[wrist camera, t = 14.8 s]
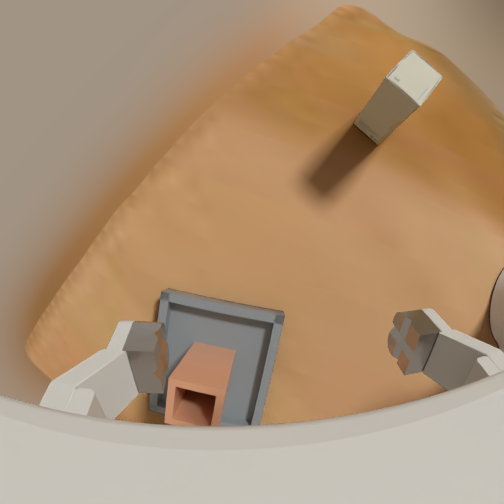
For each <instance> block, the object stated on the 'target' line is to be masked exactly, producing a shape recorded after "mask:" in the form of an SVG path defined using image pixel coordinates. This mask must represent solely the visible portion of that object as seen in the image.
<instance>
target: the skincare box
mask: <svg viewBox="0 0 504 504" xmlns="http://www.w3.org/2000/svg"><path fill="white" fill-rule="evenodd" d="M441 79H442V76H441V74H439V73H438V72H437V71H436V70H435V69H434V68H433V67H432V66H431V65H430V64H429V63H428V62H427V61H425V60H424V59H423V58H422V57H421V56H420V55H418V54H417V53H416V52H415V51H413V50H411V51H410V52H409V53H408V54H407V55H406V56H405V57H404V58H403V59H402V60H401V61H400V62H399V63H398V64H397V65H396V66H395V67H394V68H393V69H392V71H391V72H390V73H389V74H388V75H387V76H386V77H385V79H384V80H383V82H382V83H381V85H380V86H379V88H378V89H377V90H376V92H375V93H374V95H373V96H372V98H371V99H370V101H369V102H368V104H367V105H366V106H365V108H364V109H363V111H362V112H361V114H360V115H359V117H358V118H357V119H356V121H355V122H354V124H355V125H356V126H357V127H358V128H359V129H360V130H361V131H363V132H364V133H365V134H366V135H367V136H368V137H369V138H370V139H372V140H373V141H374V142H375V143H376V144H377V145H379V144H380V143H382V142H383V141H384V140H385V139H386V138H387V137H388V136H389V135H390V134H391V133H392V132H393V131H394V130H395V129H396V128H397V127H398V126H399V125H400V124H401V123H402V122H403V121H404V120H405V119H407V118H408V117H409V116H410V115H411V114H412V113H413V112H414V111H415V110H416V109H417V108H419V107H420V106H421V105H422V104H423V102H424V101H425V100H426V99H427V98H428V96H429V95H430V94H431V93H432V91H433V90H434V89H435V87H436V86H437V85H438V83H439V82H440V80H441Z"/></svg>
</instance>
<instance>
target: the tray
mask: <svg viewBox="0 0 504 504" xmlns="http://www.w3.org/2000/svg"><path fill="white" fill-rule="evenodd" d="M284 317H285V315H284V312H283V311H278V310H273V309H267V308H262V307H256V306H251V305H246V304H241V303H235V302H230V301H225V300H220V299H215V298H211V297H206V296H201V295H196V294H192V293H187V292H182V291H178V290H173V289H169V288H168V289H165V290H163V291H162V292H161V299H160V306H159V314H158V321H157V322H163V323H164V324H165V329H166V335H165V341H166V342H167V343H168V347H169V367H168V370H167V371H166V372H165V376H166V383H165V388H164V394H162V393H150V403H149V410H151V411H154V412H158V413H161V414H165V410H166V399H167V390H168V380H169V377H170V375H171V374H172V373H173V371H174V370H175V368H176V367H177V366H178V364H179V363H180V361H181V360H182V359H183V357H184V356H185V354H186V353H187V352H188V350H189V349H190V347H191V346H192V345H193V343H194V342H199V343H204V344H208V345H213V346H217V347H222V348H227V349H232V350H236V353H235V359H234V364H233V369H232V374H231V380H230V385H229V389H228V393H227V398H226V402H225V406H224V410H223V414H222V418H221V422H220V426H247V425H260V421H261V417H262V413H263V409H264V405H265V401H266V397H267V392H268V388H269V384H270V380H271V375H272V371H273V367H274V362H275V358H276V354H277V349H278V345H279V340H280V336H281V331H282V326H283V322H284Z"/></svg>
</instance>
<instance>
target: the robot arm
mask: <svg viewBox="0 0 504 504" xmlns="http://www.w3.org/2000/svg"><path fill="white" fill-rule="evenodd" d="M490 323H491V329H492V333H493V336H494V338H495V339H496V341H497V343H498V345H499V349H498V348H496V347H493V346H491V345H489V344H487V343H484V342H482V341H480V340H477V339H475V338H473V337H471V336H468V335H466V334H464V333H462V332H459V331H457V330H452V329H451V328H450V327H449V326H448V325H447V324H446V323H445V322H444V321H443V320H442V319H441V317H440V316H439V315H438V314H437V313H436V312H435V311H434V310H433V309H431V308H425V309H419V310H413V311H406V312H397V313H396V315H395V316H394V319H393V324H394V326H395V327H394V328H393V329H392V330H391V331H390V333H389V336H388V348H389V351H390V353H391V355H392V356H394V357H395V358H397V359H398V361H397V364H398V366H399V367H400V369H401V371H402V372H403V374H404V375H408V374H413V373H418V372H423V373H424V374H425V375H427V376H428V377H430V378H431V379H432V380H434V381H435V382H437V383H438V384H440V385H441V386H442V387H444V388H445V389H447V390H448V391H446V392H443V393H439V394H436V395H433V396H429V397H426V398H422V399H419V400H415V401H411V402H407V403H403V404H399V405H395V406H390V407H386V408H381V409H376V410H371V411H366V412H361V413H356V414H350V415H344V416H338V417H332V418H325V419H317V420H309V421H300V422H291V423H279V424H266V425H247V426H182V425H163V424H150V423H139V422H129V421H120V420H114V419H115V418H116V417H117V416H118V414H119V413H120V412H121V411H122V410H123V409H124V408H125V407H126V406H127V405H128V404H129V403H130V402H131V401H132V400H133V399H134V398H135V397H136V396H137V395H138V394H139V393H162V394H164V388H165V383H166V376H165V372H166V371H167V370H168V367H169V347H168V343H167V342H166V341H165V335H166V329H165V324H164V323H163V322H147V321H127V320H121V321H119V322H118V325H117V327H116V329H115V331H114V333H113V335H112V338H111V340H110V342H109V344H108V346H107V349H106V350H105V349H102V350H100V351H99V352H97V353H95V354H94V355H92V356H91V357H89V358H88V359H86V360H84V361H83V362H81V363H80V364H78V365H77V366H75V367H73V368H72V369H70V370H69V371H67V372H65V373H64V374H62V375H61V376H59V377H58V378H56V379H54V380H53V381H51V383H50V385H49V387H48V389H47V391H46V393H45V394H44V396H43V398H42V400H41V403H40V405H34V404H31V403H27V402H23V401H20V400H16V399H13V398H9V397H6V396H3V395H0V504H504V270H503V271H502V273H501V274H500V276H499V278H498V280H497V283H496V285H495V288H494V292H493V296H492V300H491V308H490Z"/></svg>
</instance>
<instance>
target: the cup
mask: <svg viewBox="0 0 504 504" xmlns="http://www.w3.org/2000/svg"><path fill="white" fill-rule="evenodd" d="M235 353H236V350H232V349H227V348H222V347H217V346H213V345H208V344H204V343H199V342H194V343H193V345H192V346H191V347H190V349H189V350H188V352H187V353H186V354H185V356H184V357H183V359H182V360H181V361H180V363H179V364H178V366H177V367H176V368H175V370H174V371H173V373H172V374H171V375H170V377H169V380H168V390H167V399H166V410H165V421H164V423H167V424H171V425H182V426H220V422H221V418H222V414H223V410H224V406H225V402H226V398H227V393H228V389H229V385H230V380H231V374H232V369H233V364H234V359H235Z"/></svg>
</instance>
